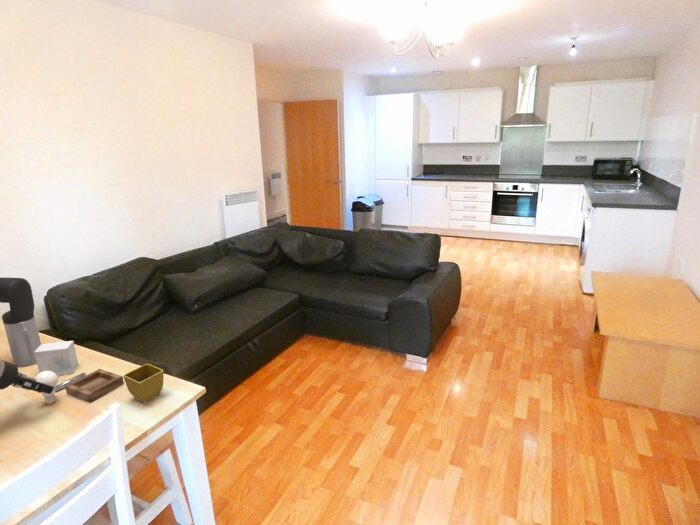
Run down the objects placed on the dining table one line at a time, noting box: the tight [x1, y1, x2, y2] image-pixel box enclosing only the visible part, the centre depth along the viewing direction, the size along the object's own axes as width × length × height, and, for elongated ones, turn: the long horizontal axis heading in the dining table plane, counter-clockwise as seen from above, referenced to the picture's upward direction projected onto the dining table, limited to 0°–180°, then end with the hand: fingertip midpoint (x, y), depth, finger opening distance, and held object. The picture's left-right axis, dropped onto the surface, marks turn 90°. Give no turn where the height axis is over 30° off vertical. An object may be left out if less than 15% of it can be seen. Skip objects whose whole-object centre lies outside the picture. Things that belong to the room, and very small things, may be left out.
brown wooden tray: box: [64, 368, 125, 404], centre depth 141 cm, size 12×12×3 cm
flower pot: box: [123, 363, 164, 403], centre depth 135 cm, size 9×9×9 cm
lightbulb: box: [33, 371, 59, 404], centre depth 132 cm, size 6×6×11 cm
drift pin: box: [54, 372, 87, 393], centre depth 144 cm, size 11×2×2 cm, turn 155°
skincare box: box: [34, 340, 80, 376], centre depth 151 cm, size 10×6×10 cm, turn 103°
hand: (43, 387), depth 131 cm, fingers open, 8 cm apart
